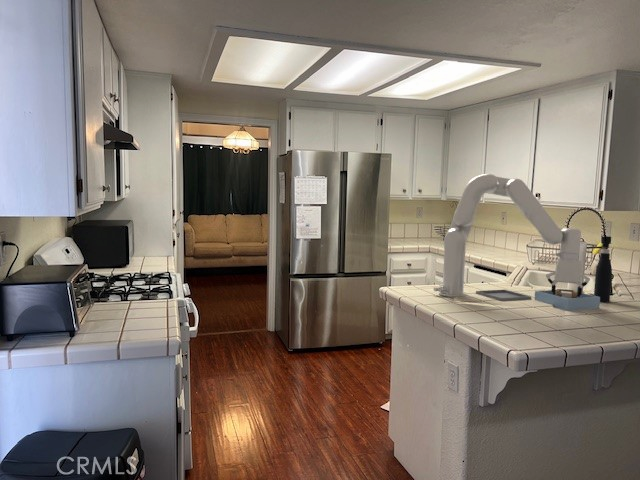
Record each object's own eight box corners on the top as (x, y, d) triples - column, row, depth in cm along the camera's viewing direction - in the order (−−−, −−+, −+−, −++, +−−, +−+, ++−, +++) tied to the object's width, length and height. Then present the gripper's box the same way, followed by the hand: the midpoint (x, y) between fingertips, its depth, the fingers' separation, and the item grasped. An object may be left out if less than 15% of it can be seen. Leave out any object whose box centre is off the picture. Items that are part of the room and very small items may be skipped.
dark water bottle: (593, 301, 222) (598, 236, 220) (593, 299, 228) (598, 235, 225) (609, 303, 219) (615, 237, 217) (609, 300, 225) (614, 236, 222)
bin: (567, 310, 200) (568, 299, 200) (534, 301, 217) (535, 290, 217) (599, 308, 207) (600, 297, 206) (564, 299, 223) (565, 289, 223)
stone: (561, 301, 211) (561, 292, 211) (560, 299, 215) (560, 290, 215) (571, 302, 210) (571, 293, 210) (570, 300, 214) (570, 291, 213)
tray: (500, 303, 212) (501, 298, 212) (475, 295, 228) (475, 290, 228) (531, 301, 218) (531, 296, 218) (504, 294, 234) (504, 289, 234)
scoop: (558, 304, 207) (559, 293, 207) (555, 299, 219) (556, 288, 218) (576, 306, 205) (577, 294, 204) (573, 301, 216) (573, 290, 216)
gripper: (548, 255, 210) (544, 294, 211) (593, 259, 203) (589, 299, 205) (546, 254, 217) (543, 291, 218) (590, 257, 210) (587, 295, 212)
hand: (566, 295), depth 212 cm, fingers open, 9 cm apart
